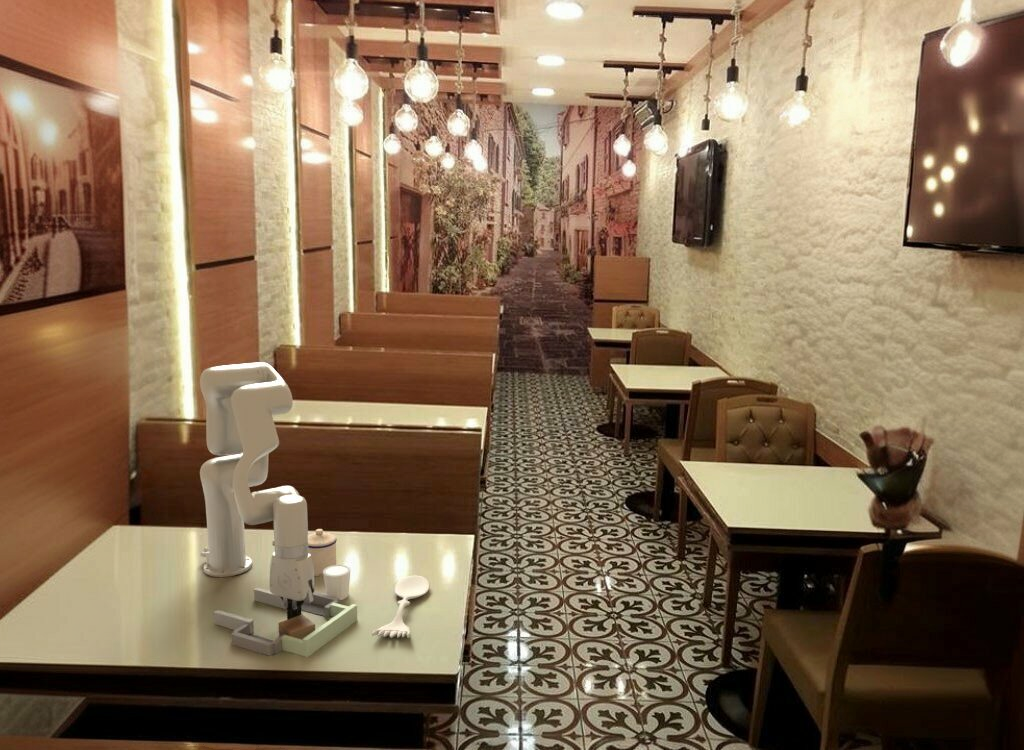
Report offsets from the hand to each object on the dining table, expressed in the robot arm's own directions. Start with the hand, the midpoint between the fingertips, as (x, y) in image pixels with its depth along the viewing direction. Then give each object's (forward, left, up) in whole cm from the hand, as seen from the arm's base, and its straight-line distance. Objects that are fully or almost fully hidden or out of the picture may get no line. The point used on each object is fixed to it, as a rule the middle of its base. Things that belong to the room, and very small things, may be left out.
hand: (294, 621), depth 184 cm
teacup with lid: (-16, +28, -2) cm, 32 cm away
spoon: (+19, +18, -2) cm, 26 cm away
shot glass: (-1, +18, -2) cm, 18 cm away
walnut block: (+4, -4, -2) cm, 6 cm away
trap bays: (-2, 0, -1) cm, 2 cm away
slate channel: (-4, 0, -1) cm, 4 cm away
